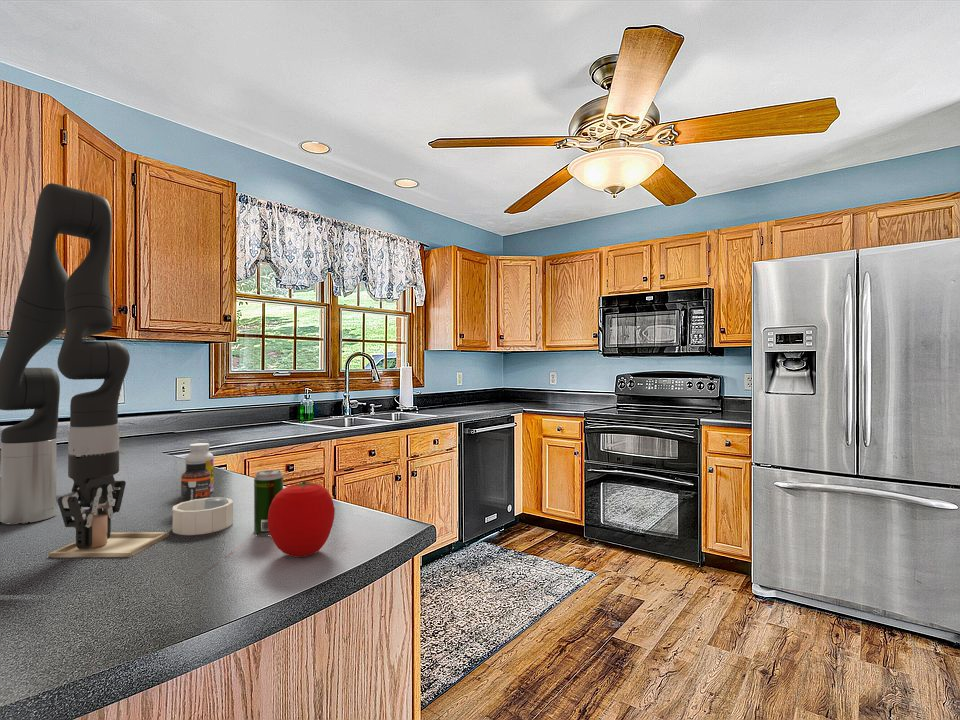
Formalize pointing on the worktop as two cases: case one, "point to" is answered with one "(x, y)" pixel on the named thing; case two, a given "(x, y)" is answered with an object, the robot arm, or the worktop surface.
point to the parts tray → (114, 545)
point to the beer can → (265, 497)
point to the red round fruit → (301, 518)
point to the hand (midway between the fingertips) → (93, 543)
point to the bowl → (201, 517)
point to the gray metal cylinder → (215, 502)
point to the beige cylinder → (99, 530)
